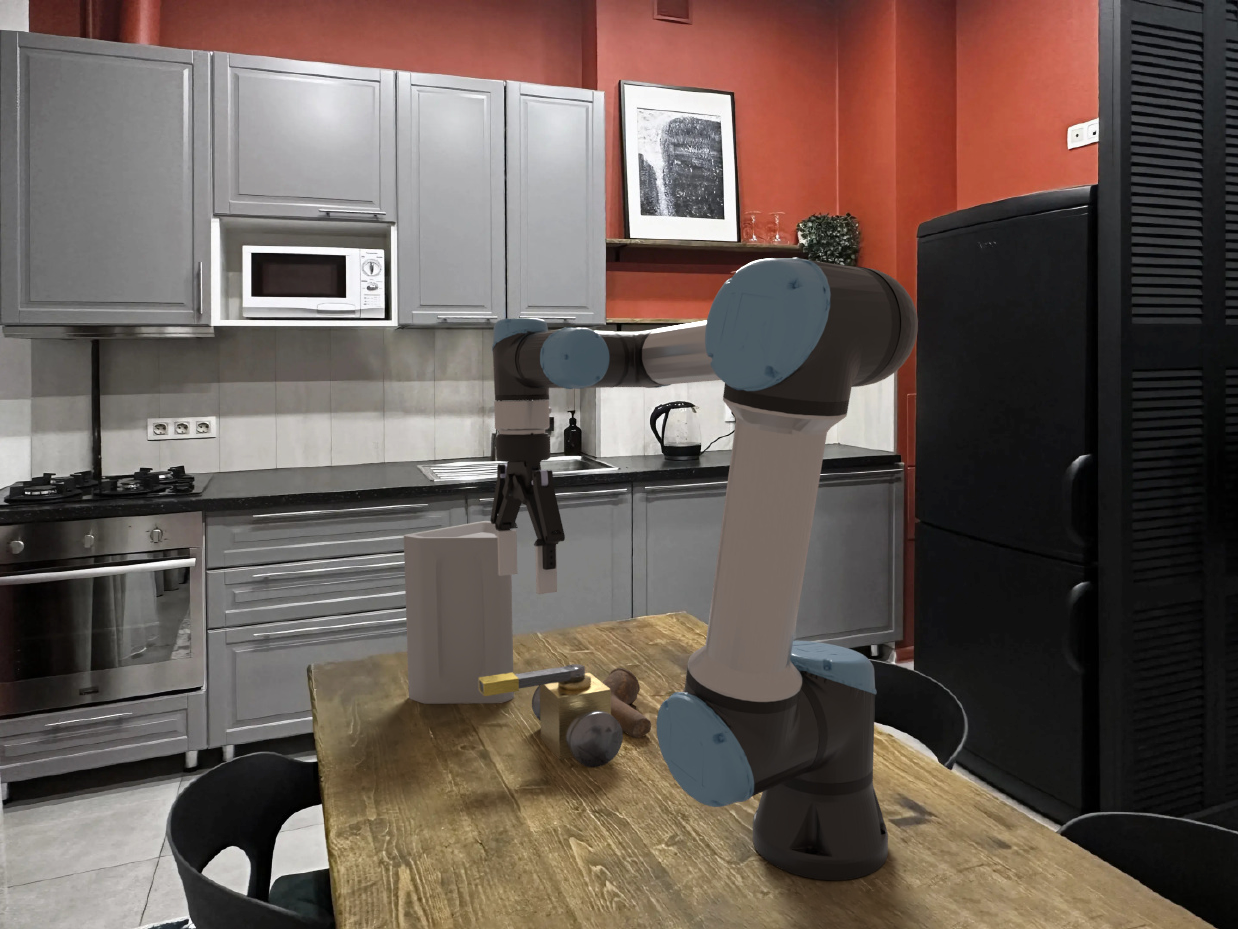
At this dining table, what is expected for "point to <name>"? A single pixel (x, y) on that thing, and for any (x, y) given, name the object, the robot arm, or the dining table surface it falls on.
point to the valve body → (578, 720)
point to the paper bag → (456, 614)
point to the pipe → (626, 702)
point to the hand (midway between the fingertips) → (526, 583)
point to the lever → (529, 679)
